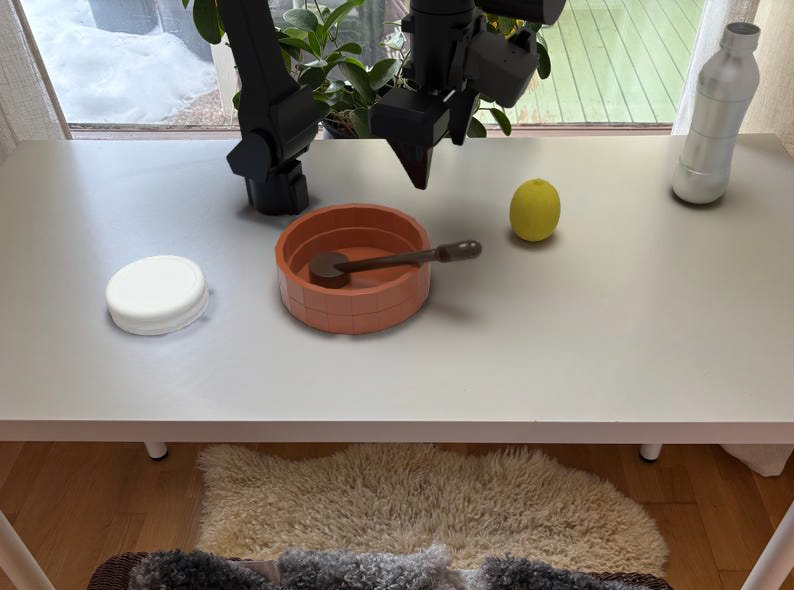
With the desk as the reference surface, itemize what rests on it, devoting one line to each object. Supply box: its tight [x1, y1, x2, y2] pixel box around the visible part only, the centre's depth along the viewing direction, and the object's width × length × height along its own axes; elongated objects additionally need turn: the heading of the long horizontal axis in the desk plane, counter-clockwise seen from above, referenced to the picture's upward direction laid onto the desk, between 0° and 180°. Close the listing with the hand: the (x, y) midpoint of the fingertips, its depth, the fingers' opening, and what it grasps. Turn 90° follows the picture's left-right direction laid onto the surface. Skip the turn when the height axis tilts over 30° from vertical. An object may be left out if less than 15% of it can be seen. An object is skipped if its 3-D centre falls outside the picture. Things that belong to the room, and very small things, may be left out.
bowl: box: [274, 202, 432, 335], centre depth 80 cm, size 16×16×6 cm
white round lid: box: [104, 254, 210, 336], centre depth 79 cm, size 10×10×4 cm
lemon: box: [508, 177, 562, 242], centre depth 85 cm, size 6×6×8 cm
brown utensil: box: [308, 239, 484, 289], centre depth 77 cm, size 19×4×10 cm, turn 64°
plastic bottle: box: [671, 21, 762, 205], centre depth 87 cm, size 6×7×20 cm
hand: (440, 165), depth 77 cm, fingers open, 9 cm apart
